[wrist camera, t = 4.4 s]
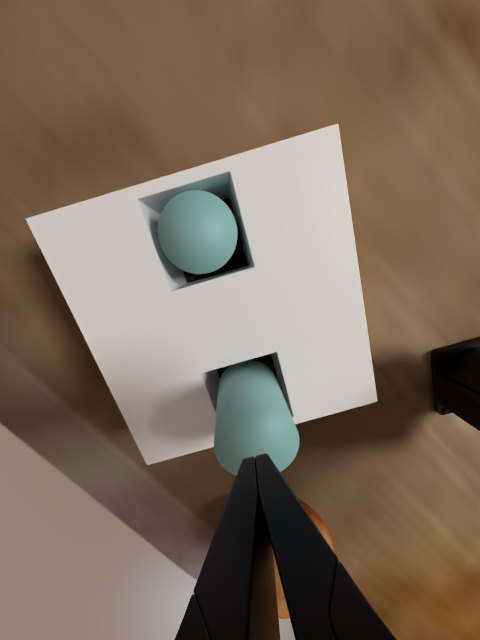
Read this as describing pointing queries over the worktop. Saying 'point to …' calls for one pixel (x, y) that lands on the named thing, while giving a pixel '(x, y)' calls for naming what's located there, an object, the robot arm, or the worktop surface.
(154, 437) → the socket board
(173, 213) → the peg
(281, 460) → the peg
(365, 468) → the worktop surface
